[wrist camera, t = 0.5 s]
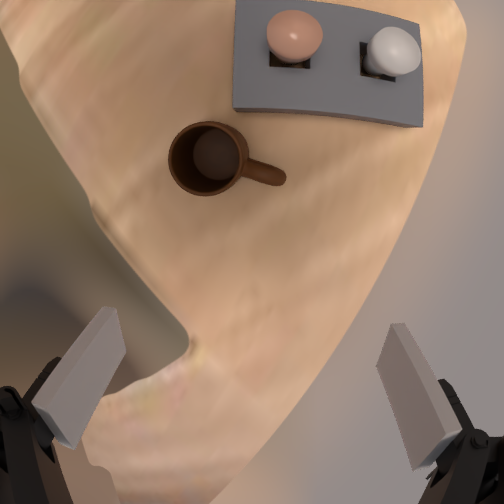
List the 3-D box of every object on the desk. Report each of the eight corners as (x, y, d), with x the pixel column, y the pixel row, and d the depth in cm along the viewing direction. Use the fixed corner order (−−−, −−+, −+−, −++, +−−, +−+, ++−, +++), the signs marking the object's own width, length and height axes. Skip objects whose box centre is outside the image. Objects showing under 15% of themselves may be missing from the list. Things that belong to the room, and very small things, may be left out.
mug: (291, 143, 35) (300, 145, 26) (273, 200, 38) (275, 220, 29) (198, 118, 34) (177, 112, 25) (183, 175, 37) (158, 187, 28)
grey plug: (353, 42, 27) (373, 21, 20) (391, 50, 26) (419, 34, 19) (353, 79, 28) (375, 66, 21) (393, 87, 28) (422, 77, 21)
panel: (239, 13, 29) (236, -2, 24) (403, 34, 28) (419, 24, 23) (236, 111, 34) (232, 107, 29) (405, 127, 33) (422, 127, 28)
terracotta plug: (267, 33, 27) (267, 8, 20) (311, 36, 27) (322, 12, 20) (266, 72, 29) (266, 54, 22) (311, 74, 29) (323, 58, 22)
